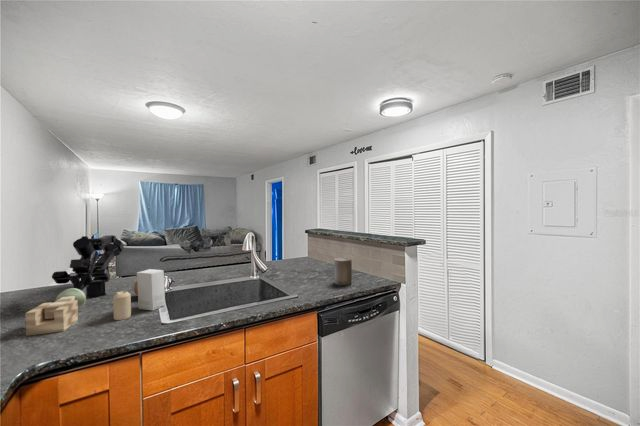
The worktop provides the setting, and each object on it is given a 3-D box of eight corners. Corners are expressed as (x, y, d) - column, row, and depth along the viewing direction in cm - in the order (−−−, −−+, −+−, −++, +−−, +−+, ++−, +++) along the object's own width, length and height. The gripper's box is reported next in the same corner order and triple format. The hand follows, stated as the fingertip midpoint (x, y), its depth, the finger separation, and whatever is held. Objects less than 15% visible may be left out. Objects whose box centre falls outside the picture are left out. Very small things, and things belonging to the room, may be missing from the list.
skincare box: (165, 305, 119) (165, 269, 119) (151, 311, 113) (151, 273, 112) (151, 303, 122) (150, 268, 121) (136, 308, 116) (136, 271, 115)
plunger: (58, 311, 109) (57, 289, 109) (86, 309, 112) (85, 287, 112) (35, 327, 96) (34, 301, 96) (68, 323, 99) (67, 298, 99)
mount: (44, 323, 102) (43, 302, 101) (78, 319, 105) (77, 299, 105) (26, 335, 92) (25, 313, 92) (63, 331, 95) (63, 309, 95)
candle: (112, 321, 103) (111, 294, 103) (115, 316, 108) (114, 290, 108) (130, 318, 106) (129, 292, 106) (132, 313, 111) (131, 288, 111)
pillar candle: (355, 283, 154) (355, 256, 154) (343, 287, 147) (343, 258, 147) (342, 280, 161) (342, 254, 161) (330, 283, 154) (330, 256, 154)
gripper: (53, 252, 115) (37, 286, 105) (107, 250, 121) (97, 282, 111) (64, 267, 123) (50, 300, 113) (114, 264, 129) (105, 295, 119)
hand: (75, 294), depth 114 cm, fingers closed
